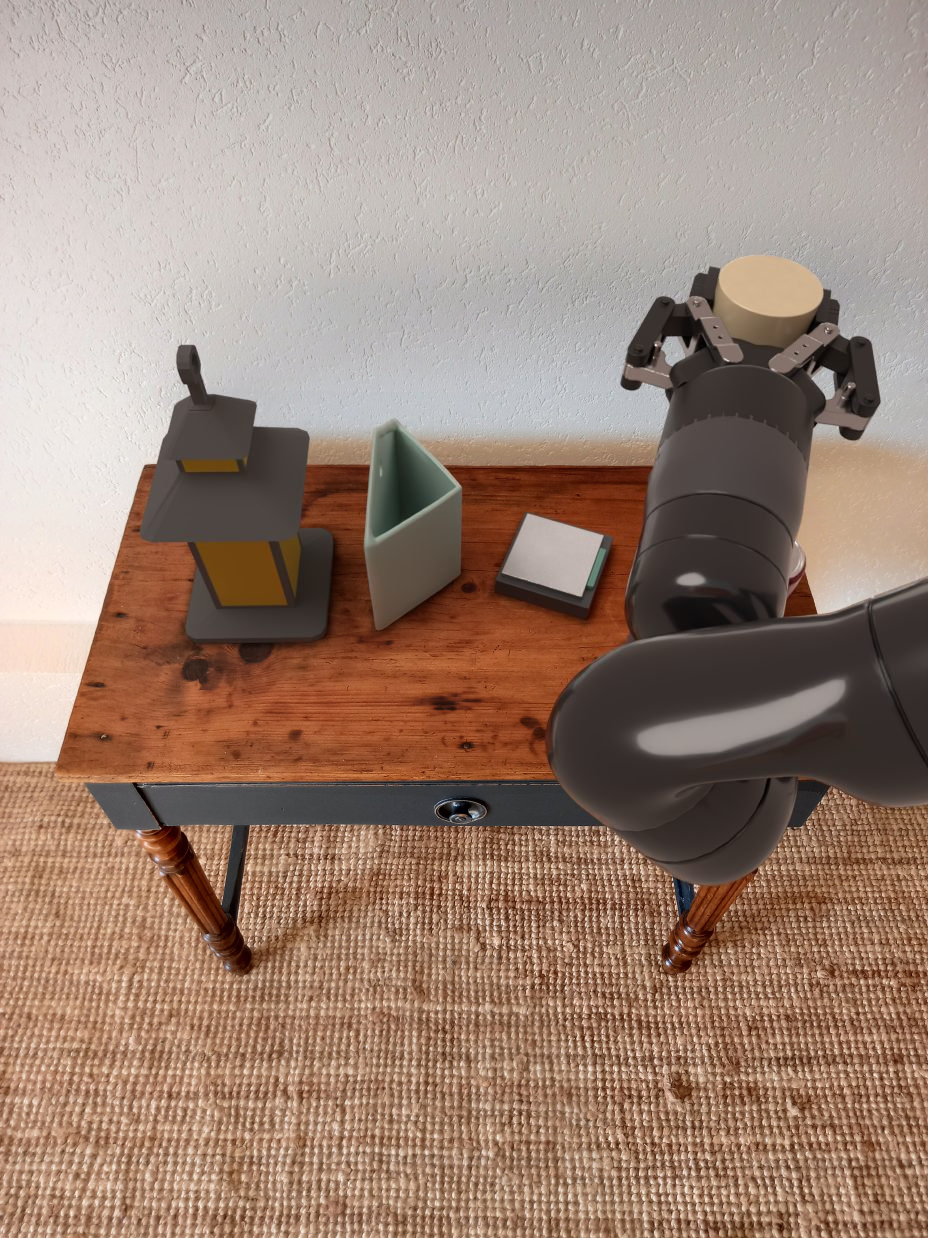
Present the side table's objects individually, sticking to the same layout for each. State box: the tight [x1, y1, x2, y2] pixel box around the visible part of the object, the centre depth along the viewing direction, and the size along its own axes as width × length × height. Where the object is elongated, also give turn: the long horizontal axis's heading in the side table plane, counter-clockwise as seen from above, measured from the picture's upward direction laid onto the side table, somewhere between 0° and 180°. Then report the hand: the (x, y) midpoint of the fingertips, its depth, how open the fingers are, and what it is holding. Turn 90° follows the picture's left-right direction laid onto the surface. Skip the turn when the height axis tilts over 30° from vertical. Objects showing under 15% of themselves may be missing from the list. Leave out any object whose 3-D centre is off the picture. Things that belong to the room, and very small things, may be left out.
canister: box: [710, 254, 824, 350], centre depth 50 cm, size 6×6×9 cm
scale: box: [494, 510, 614, 621], centre depth 85 cm, size 10×10×3 cm
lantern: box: [139, 344, 335, 645], centre depth 72 cm, size 14×14×30 cm
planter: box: [363, 417, 463, 631], centre depth 78 cm, size 16×8×20 cm, turn 174°
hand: (764, 290), depth 50 cm, fingers closed on canister, 6 cm apart
